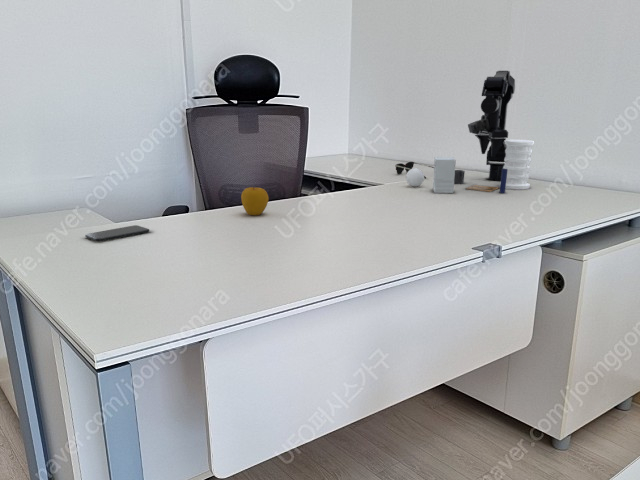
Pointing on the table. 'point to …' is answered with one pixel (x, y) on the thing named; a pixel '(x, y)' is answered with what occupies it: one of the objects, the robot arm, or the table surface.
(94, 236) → the smartphone
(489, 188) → the sketch board
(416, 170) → the white ball
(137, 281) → the table surface
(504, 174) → the marker
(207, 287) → the table surface
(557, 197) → the table surface
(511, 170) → the decorative container
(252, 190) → the apple
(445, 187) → the white packaging box
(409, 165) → the sunglasses
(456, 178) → the pen cup
